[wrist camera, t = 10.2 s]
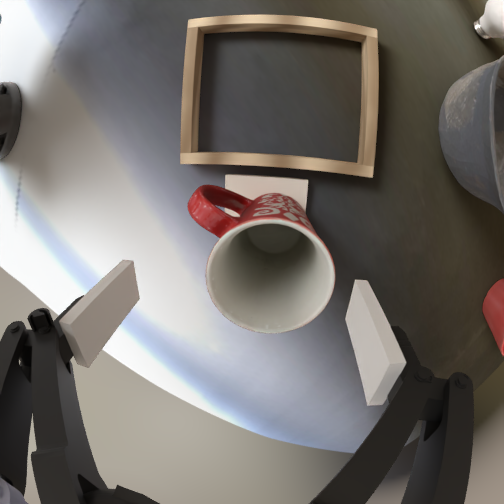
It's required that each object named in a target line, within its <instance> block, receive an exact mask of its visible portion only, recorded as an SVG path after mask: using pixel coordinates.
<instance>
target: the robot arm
mask: <svg viewBox="0 0 504 504" xmlns="http://www.w3.org/2000/svg"><path fill="white" fill-rule="evenodd" d="M1 19H2V18H1V15H0V23H1ZM20 118H21V96H20V92H19V89H18V87H17V85H16V84H15V83H13V82H1V83H0V159H2V158H4V157H5V156H6V155H7V154H8V153H9V152H10V150H11V149H12V147H13V144H14V142H15V139H16V136H17V133H18V129H19V124H20ZM139 299H140V298H139V292H138V287H137V281H136V275H135V269H134V262H133V261H130V260H122V261H121V262H120V263H119V264H118V265H117V266H116V267H115V268H113V269H112V270H111V271H110V272H109V273H108V274H107V275H106V276H105V277H104V278H102V279H101V280H100V281H99V282H98V283H97V284H96V285H95V286H94V287H93V288H92V289H91V290H90V291H89V292H88V293H87V294H86V295H83V296H81V297H79V298H77V299H76V300H75V301H74V302H73V303H71V304H70V306H68V307H67V308H66V310H64V311H63V312H62V313H61V314H60V315H59V316H58V317H57V318H56V320H54V321H53V320H52V317H51V315H50V312H49V310H48V309H45V308H40V309H37V310H34V311H33V312H31V314H30V315H29V316H28V321H29V323H30V326H31V328H32V330H27V329H26V327H25V325H24V323H23V322H22V321H16V322H13V323H11V324H10V325H9V326H8V327H7V328H6V330H5V332H4V335H3V337H2V339H1V341H0V504H28V503H27V502H26V501H25V499H24V493H25V487H26V477H27V456H28V443H29V434H30V426H31V419H32V413H33V422H34V431H35V439H36V446H37V450H36V451H35V452H32V454H31V461H32V467H33V472H34V477H35V481H36V485H37V490H38V494H39V498H40V501H41V504H159V503H157V502H156V501H154V500H152V499H150V498H148V497H147V496H145V495H143V494H140V493H137V492H135V491H132V490H129V489H126V488H124V487H121V486H119V485H117V487H116V489H108V488H107V486H106V484H105V483H104V481H103V480H102V478H101V477H100V475H99V473H98V471H97V467H96V464H95V462H94V458H93V455H92V452H91V449H90V446H89V442H88V439H87V435H86V431H85V428H84V424H83V420H82V415H81V411H80V407H79V402H78V398H77V392H76V386H75V380H74V374H73V367H72V363H71V361H70V359H71V358H72V357H73V356H74V358H75V360H76V362H77V364H79V365H82V366H85V367H87V368H89V367H90V365H91V364H92V362H93V361H94V359H95V358H96V357H97V355H98V354H99V352H100V351H101V350H102V348H103V347H104V345H105V344H106V343H107V341H108V340H109V339H110V337H111V336H112V335H113V333H114V332H115V331H116V329H117V328H118V327H119V325H120V324H121V323H122V321H123V320H124V319H125V317H126V316H127V315H128V313H129V312H130V311H131V309H132V308H133V307H134V306H135V304H136V303H137V302H138V300H139ZM345 320H346V323H347V327H348V330H349V334H350V338H351V341H352V345H353V349H354V352H355V356H356V360H357V364H358V368H359V372H360V376H361V380H362V384H363V388H364V393H365V397H366V401H367V406H371V405H383V403H384V402H385V400H386V398H387V397H388V400H389V403H390V404H389V405H388V407H387V408H386V410H385V411H384V413H383V414H382V416H381V418H380V419H379V420H378V422H377V423H376V425H375V426H374V428H373V429H372V431H371V432H370V433H369V435H368V436H367V437H366V439H365V440H364V441H363V443H362V444H361V445H360V447H359V448H358V449H357V451H356V452H355V453H354V454H353V456H352V457H351V458H350V459H349V461H348V462H347V463H346V464H345V466H344V467H343V468H342V469H341V470H340V471H339V472H338V474H337V475H336V476H335V477H334V478H333V479H332V480H331V481H330V482H329V484H328V485H327V486H326V487H325V488H324V489H323V490H322V491H321V492H320V493H319V494H318V495H317V496H316V497H315V498H314V499H313V500H312V501H311V502H310V503H309V504H365V503H366V502H367V501H368V499H369V498H370V497H371V495H372V494H373V493H374V491H375V490H376V488H377V487H378V486H379V484H380V483H381V482H382V480H383V479H384V477H385V476H386V474H387V473H388V471H389V470H390V468H391V467H392V465H393V463H394V462H395V460H396V459H397V457H398V455H399V454H400V452H401V450H402V448H403V447H404V445H405V443H406V442H407V440H408V438H409V436H410V434H411V432H412V430H413V429H414V427H415V425H416V423H417V421H418V420H423V423H422V428H421V433H420V439H419V443H418V447H417V452H416V456H415V460H414V464H413V468H412V471H411V475H410V478H409V481H408V484H407V487H406V491H405V494H404V497H403V499H402V502H401V504H464V501H465V497H466V491H467V486H468V479H469V473H470V466H471V456H472V445H473V423H474V404H473V403H474V402H473V401H474V400H473V384H472V381H471V379H470V378H469V377H468V376H467V375H466V374H463V373H460V372H456V373H453V374H452V375H451V376H450V378H449V379H448V380H447V379H440V378H435V377H434V374H433V373H432V372H431V370H429V369H428V368H426V367H423V366H421V365H420V362H419V360H418V358H417V356H416V354H415V352H414V350H413V348H412V347H411V344H410V342H409V341H408V338H407V336H406V334H405V332H404V331H403V330H402V329H401V328H400V327H399V326H390V325H389V323H388V321H387V319H386V316H385V314H384V312H383V310H382V308H381V306H380V304H379V302H378V300H377V298H376V296H375V294H374V292H373V290H372V288H371V286H370V285H369V283H368V281H367V280H355V282H354V286H353V291H352V295H351V299H350V303H349V306H348V310H347V314H346V318H345ZM19 360H20V361H21V362H20V365H19Z"/></svg>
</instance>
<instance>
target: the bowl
mask: <svg viewBox="0 0 504 504" xmlns="http://www.w3.org/2000/svg"><path fill="white" fill-rule="evenodd" d="M438 130H439V136H440V143H441V148H442V152H443V155H444V158H445V160H446V162H447V164H448V166H449V168H450V171H451V172H452V174H453V175H454V177H455V178H456V180H457V181H458V182H459V184H460V185H461V186H462V187H463V188H465V189H466V190H467V191H468V192H470V193H471V194H473V195H474V196H476V197H478V198H480V199H481V200H483V201H485V202H488V203H490V204H492V205H493V206H495V207H496V208H497V209H499V210H500V211H501V212H502V213H503V214H504V55H503V56H502V57H501V58H500V59H499V60H496V61H494V62H492V63H488V64H485V65H483V66H481V67H479V68H477V69H475V70H473V71H471V72H469V73H467V74H466V75H464V76H463V77H461V78H460V79H459V80H457V81H456V82H455V83H454V84H453V85H452V86H451V87H450V88H449V90H448V92H447V94H446V97H445V99H444V101H443V104H442V106H441V110H440V114H439V128H438Z"/></svg>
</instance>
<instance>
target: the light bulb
mask: <svg viewBox="0 0 504 504" xmlns="http://www.w3.org/2000/svg"><path fill="white" fill-rule="evenodd" d="M474 29H475V31H476V32H477V34H478V35H479V36H480V37H482V38H484V39H488V38H491V37H492V38H496V37H499V38H502V39H504V0H488V1H487V3H486V6H485V12H484V15H483V16H482V17H481V18H480V20H478V21H475V22H474Z"/></svg>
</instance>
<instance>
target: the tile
mask: <svg viewBox="0 0 504 504" xmlns="http://www.w3.org/2000/svg"><path fill="white" fill-rule="evenodd" d="M225 189H228V190H230V191H233V192H235V193H238V194H240V195H242V196H244V197H246V198H249V199H251V200H254V199H256V198H257V197H259V196H261V195H264V194H268V193H280V194H284V195H287V196H289V197H291V198H293V199H294V200H295V201H297V202H298V203H299V204H300V205H301V207H302V208H303V210H304V212H306V201H307V191H308V179H300V178H289V177H276V176H261V175H243V174H226V176H225ZM225 213H227V214H229V215H231V216H234V217H240V215H239V214H238V213H236V212H234V211H232V210H230V209H227V208H225Z"/></svg>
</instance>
